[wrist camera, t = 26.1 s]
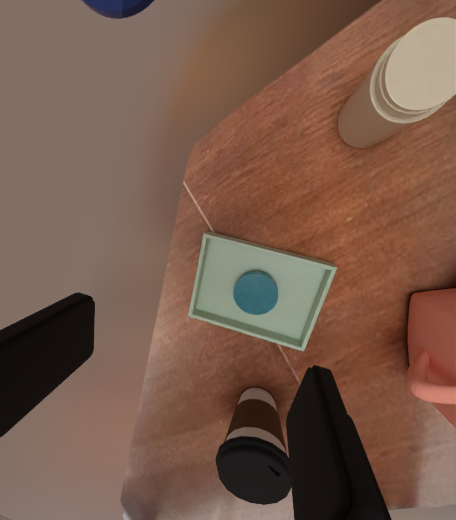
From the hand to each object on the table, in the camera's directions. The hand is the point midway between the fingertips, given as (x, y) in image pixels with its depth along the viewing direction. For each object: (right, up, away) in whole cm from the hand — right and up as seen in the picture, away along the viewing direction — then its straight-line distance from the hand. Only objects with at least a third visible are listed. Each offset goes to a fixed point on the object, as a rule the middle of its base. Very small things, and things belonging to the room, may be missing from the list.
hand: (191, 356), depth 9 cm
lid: (+6, -1, +23) cm, 24 cm away
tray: (+6, 0, +25) cm, 26 cm away
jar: (+19, +21, +17) cm, 33 cm away
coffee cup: (+7, -22, +31) cm, 39 cm away
